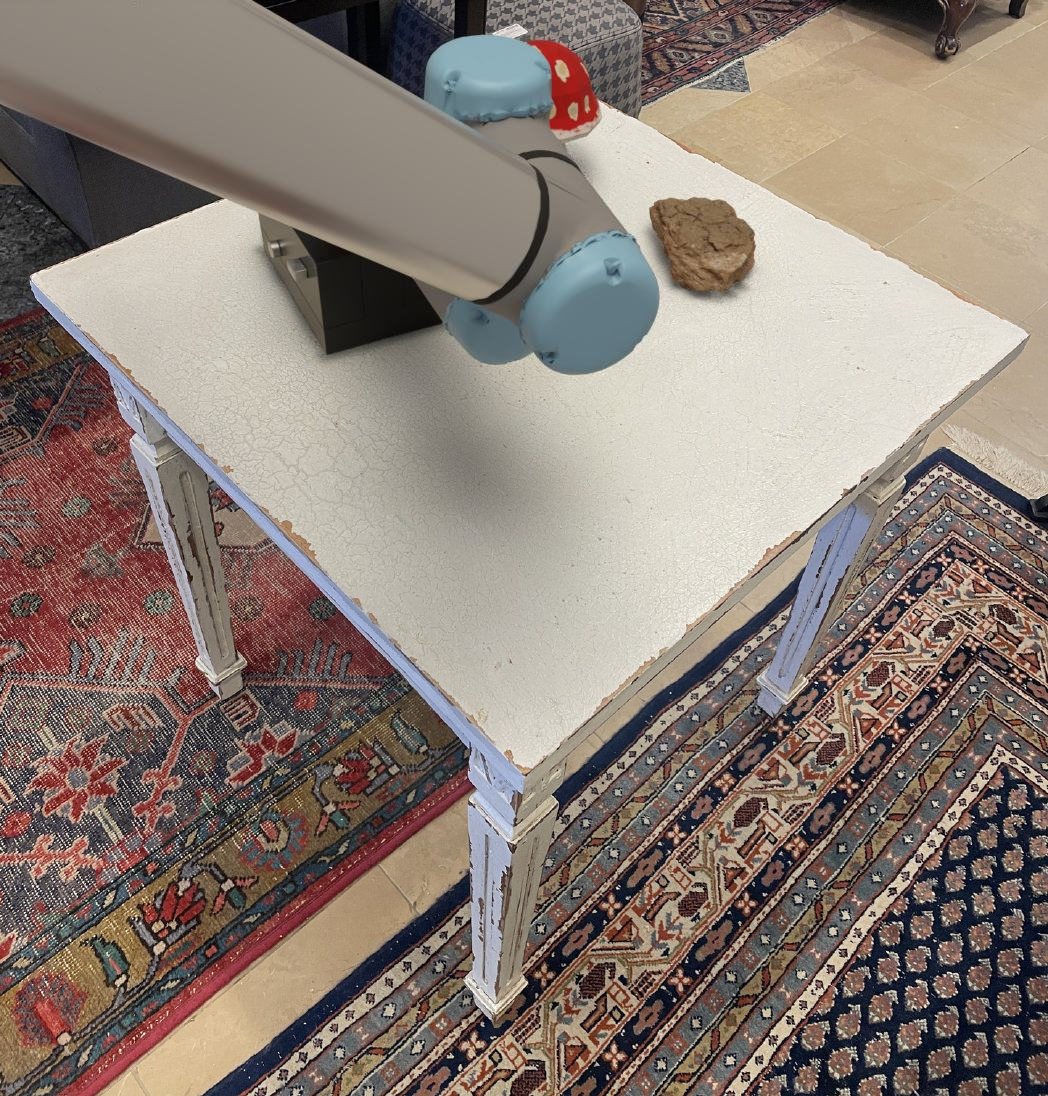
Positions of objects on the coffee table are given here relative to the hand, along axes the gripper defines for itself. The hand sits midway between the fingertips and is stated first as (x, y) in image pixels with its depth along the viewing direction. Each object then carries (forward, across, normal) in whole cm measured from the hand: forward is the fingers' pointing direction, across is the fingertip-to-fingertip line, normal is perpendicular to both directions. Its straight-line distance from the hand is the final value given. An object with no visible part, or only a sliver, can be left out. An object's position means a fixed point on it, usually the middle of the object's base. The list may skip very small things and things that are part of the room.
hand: (313, 69), depth 85 cm
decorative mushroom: (+6, +27, -20) cm, 34 cm away
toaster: (-5, 0, -19) cm, 20 cm away
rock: (-16, +36, -20) cm, 44 cm away
